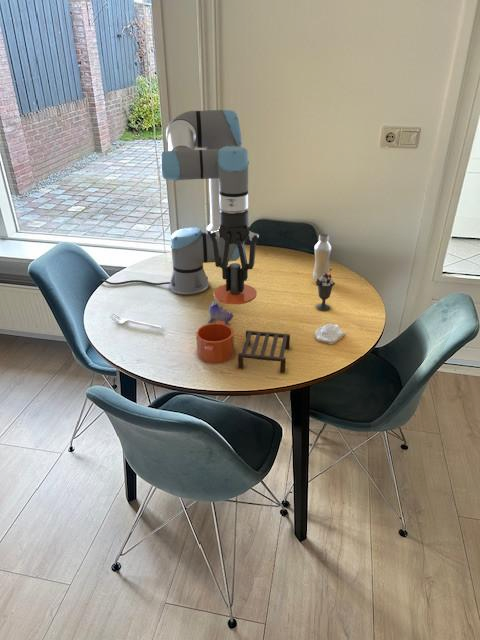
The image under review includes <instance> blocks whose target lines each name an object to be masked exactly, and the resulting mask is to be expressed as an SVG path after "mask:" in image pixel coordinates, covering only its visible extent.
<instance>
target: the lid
mask: <svg viewBox="0 0 480 640" xmlns="http://www.w3.org/2000/svg"><path fill="white" fill-rule="evenodd" d="M228 266H229V283H230V290H229V291H226V284H222V285H219V286H218V287H217V288H216V289H215V290H214V291H213V297H214V300H215V301H218V302H220V303H222V304H226V305H244V304H247V303H250V302H252V301H254V300H255V299H256V298H257V296H258V291H257V289H255V288H254V287H253V286H251V285H248V284H245V283H244V290H243V292H240V272H239V271H240V269H241V267H242V266H241V263H237V262H234V263H230V264H228Z"/></svg>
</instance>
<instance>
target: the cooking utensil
mask: <svg viewBox="0 0 480 640" xmlns="http://www.w3.org/2000/svg"><path fill="white" fill-rule="evenodd" d="M109 318H110V319H111V320H112V321H114V323H117V324H119V325H123V324H125V323H130V324H135V325H139V326H140V325H141V326H145V327H151V328H156V329H159V330H162V329H163V326H160V325H156V324H152V323H148V322H143V321H139V320H134V319H131V318H124V317H121V316H118V315H116V314H115V313H112V314H111V315H110V316H109Z"/></svg>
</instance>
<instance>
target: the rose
mask: <svg viewBox="0 0 480 640" xmlns="http://www.w3.org/2000/svg"><path fill="white" fill-rule="evenodd" d="M314 335H315V338H316V340H317V341H318V342H322V343H326V344H329V345H333V344H335V343H337V341H339V340H340V339H342V338H343V337H344V336H345V335H346V332H345V331H342V330H341V329H340V327H339V325H338V324H332V323H327V324H325V325H324V326H321V325H320V326H319V327H318V328H317V329H316V330H315V334H314Z"/></svg>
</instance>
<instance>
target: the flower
mask: <svg viewBox="0 0 480 640" xmlns="http://www.w3.org/2000/svg"><path fill="white" fill-rule="evenodd" d="M208 308H209V309H208V314H209V320H207V321H208V322H207V324H210V323H213V322H214V323H217V321H225V324H226V325H228V326H229V322H230V321H232V319H233V318H234V314H233V312H230V311H228V310H227V309H225V306H224V305H221V306H219V304H218V302H216V299H214V300H213V302H212V303H211V305H210V306H209V307H208Z"/></svg>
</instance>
